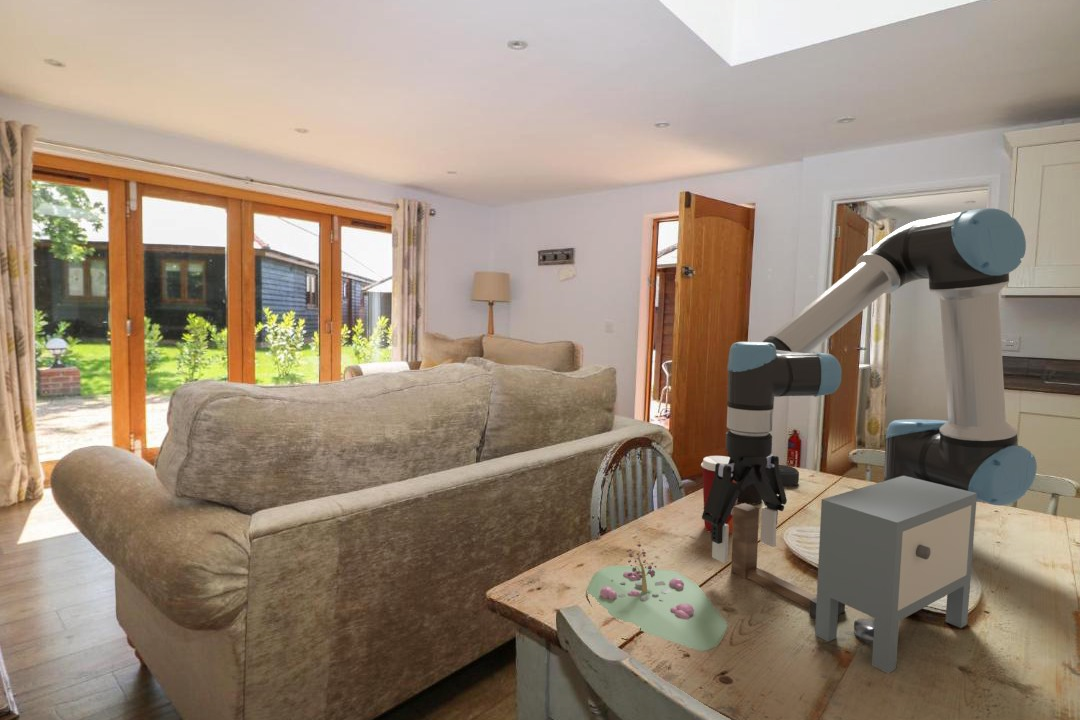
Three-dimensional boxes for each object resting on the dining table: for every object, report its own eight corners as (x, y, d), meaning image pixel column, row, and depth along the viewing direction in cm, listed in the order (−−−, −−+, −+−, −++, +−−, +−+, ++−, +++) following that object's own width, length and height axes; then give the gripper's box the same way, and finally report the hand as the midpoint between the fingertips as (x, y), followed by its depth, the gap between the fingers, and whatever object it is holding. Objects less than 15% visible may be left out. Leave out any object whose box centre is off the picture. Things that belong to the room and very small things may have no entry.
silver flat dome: (866, 624, 84) (866, 615, 84) (901, 641, 79) (902, 631, 79) (846, 634, 81) (846, 624, 81) (881, 652, 77) (882, 642, 77)
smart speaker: (764, 486, 149) (765, 471, 148) (761, 476, 157) (761, 462, 157) (801, 489, 146) (801, 474, 146) (795, 479, 155) (796, 465, 155)
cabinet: (895, 594, 92) (903, 475, 90) (975, 627, 83) (985, 495, 81) (814, 634, 81) (821, 499, 79) (896, 678, 71) (905, 525, 69)
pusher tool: (725, 573, 99) (727, 507, 98) (747, 565, 102) (750, 501, 101) (821, 622, 84) (825, 544, 83) (844, 611, 87) (848, 536, 86)
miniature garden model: (768, 620, 85) (770, 563, 85) (679, 672, 73) (681, 605, 72) (645, 561, 105) (646, 514, 105) (559, 593, 93) (560, 541, 92)
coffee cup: (742, 538, 114) (745, 466, 113) (700, 535, 116) (702, 464, 115) (736, 523, 123) (739, 455, 121) (697, 520, 124) (699, 453, 123)
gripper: (774, 420, 107) (770, 530, 109) (682, 435, 94) (679, 559, 96) (811, 427, 100) (806, 544, 102) (717, 444, 88) (713, 577, 90)
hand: (744, 551), depth 99 cm, fingers open, 12 cm apart
